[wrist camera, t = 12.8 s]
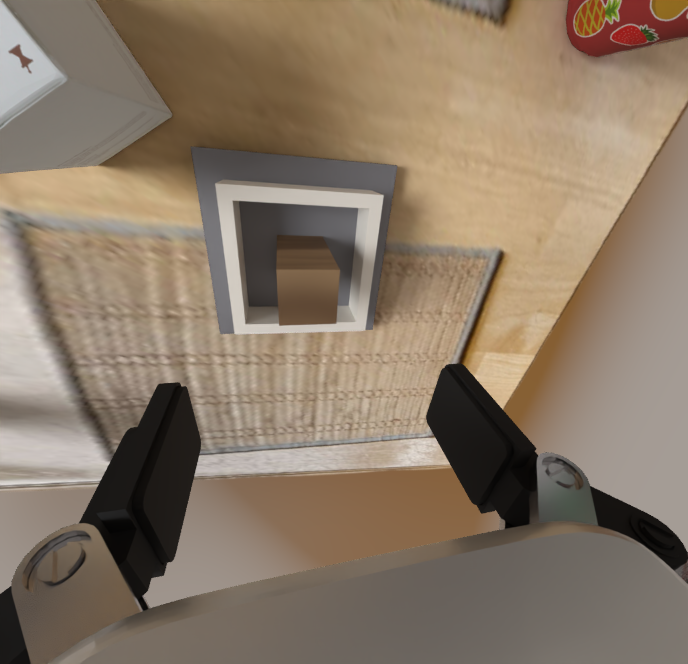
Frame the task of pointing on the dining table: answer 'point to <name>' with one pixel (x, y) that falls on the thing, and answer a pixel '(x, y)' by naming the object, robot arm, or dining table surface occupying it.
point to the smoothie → (625, 24)
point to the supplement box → (68, 87)
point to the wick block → (306, 281)
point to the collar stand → (290, 231)
